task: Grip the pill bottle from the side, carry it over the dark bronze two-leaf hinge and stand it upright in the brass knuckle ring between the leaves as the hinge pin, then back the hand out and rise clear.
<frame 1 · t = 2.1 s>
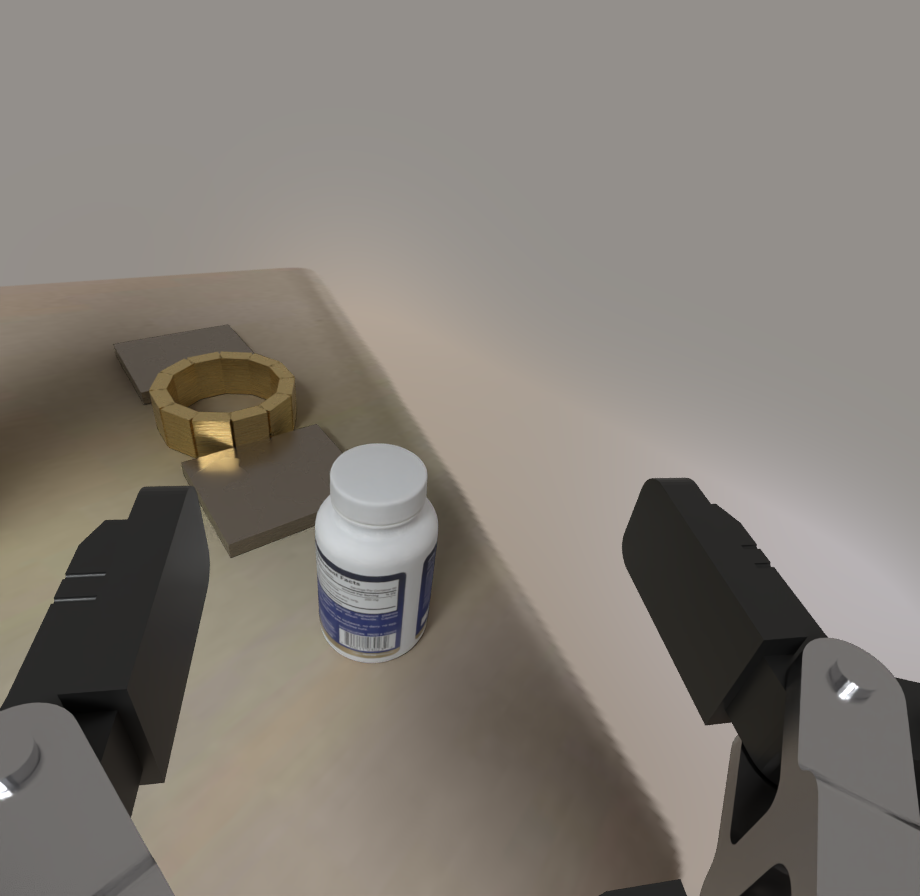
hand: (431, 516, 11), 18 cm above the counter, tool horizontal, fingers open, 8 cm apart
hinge: (230, 419, 42), on the counter
pill bottle: (373, 621, 30), on the counter
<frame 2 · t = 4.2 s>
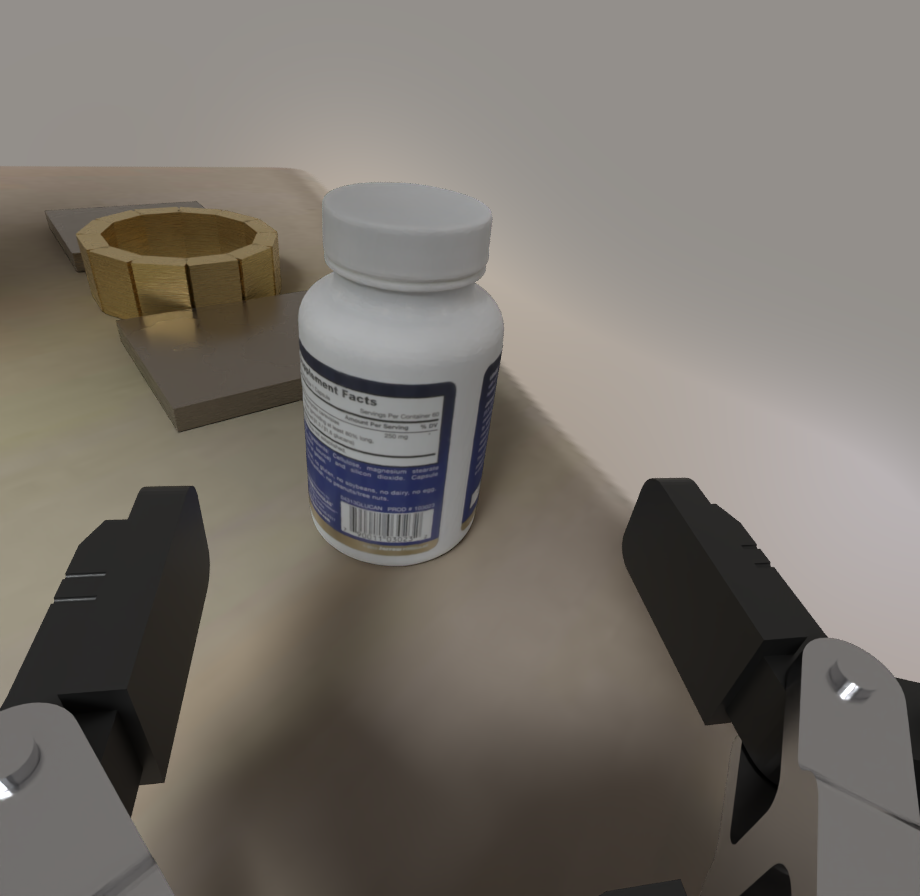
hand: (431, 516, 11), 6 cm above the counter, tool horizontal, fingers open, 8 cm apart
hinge: (191, 290, 31), on the counter
pill bottle: (392, 514, 20), on the counter
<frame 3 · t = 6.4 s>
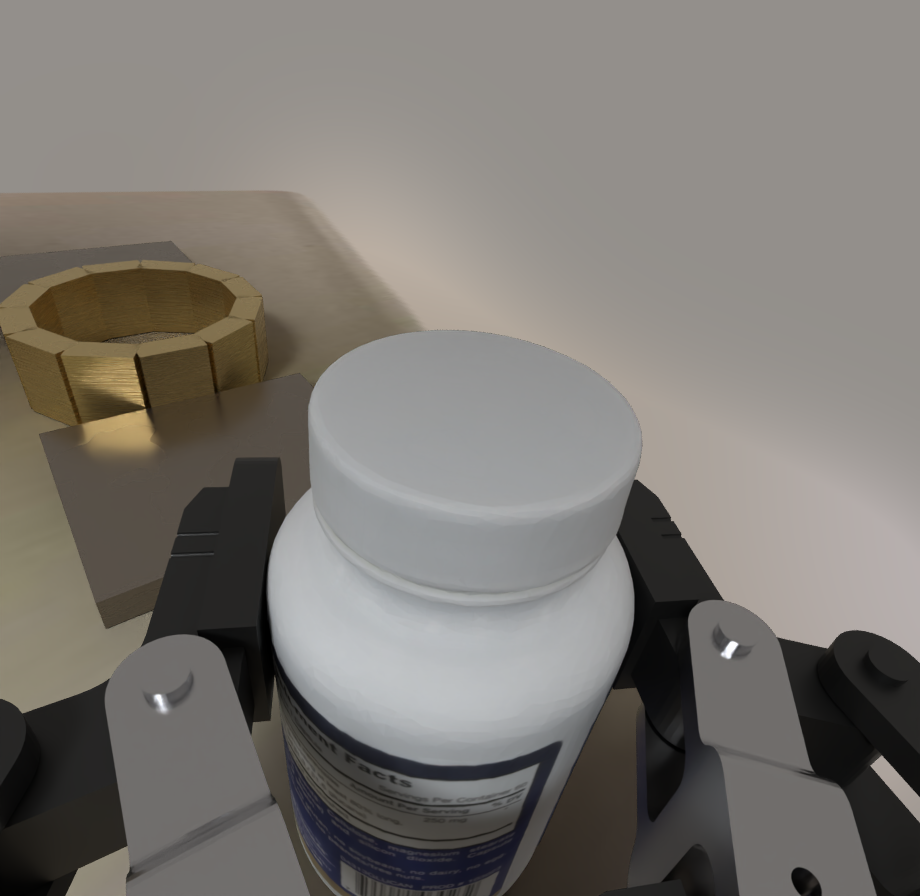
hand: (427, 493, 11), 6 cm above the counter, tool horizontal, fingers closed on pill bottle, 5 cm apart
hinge: (153, 369, 25), on the counter
pill bottle: (419, 784, 13), on the counter, touching gripper
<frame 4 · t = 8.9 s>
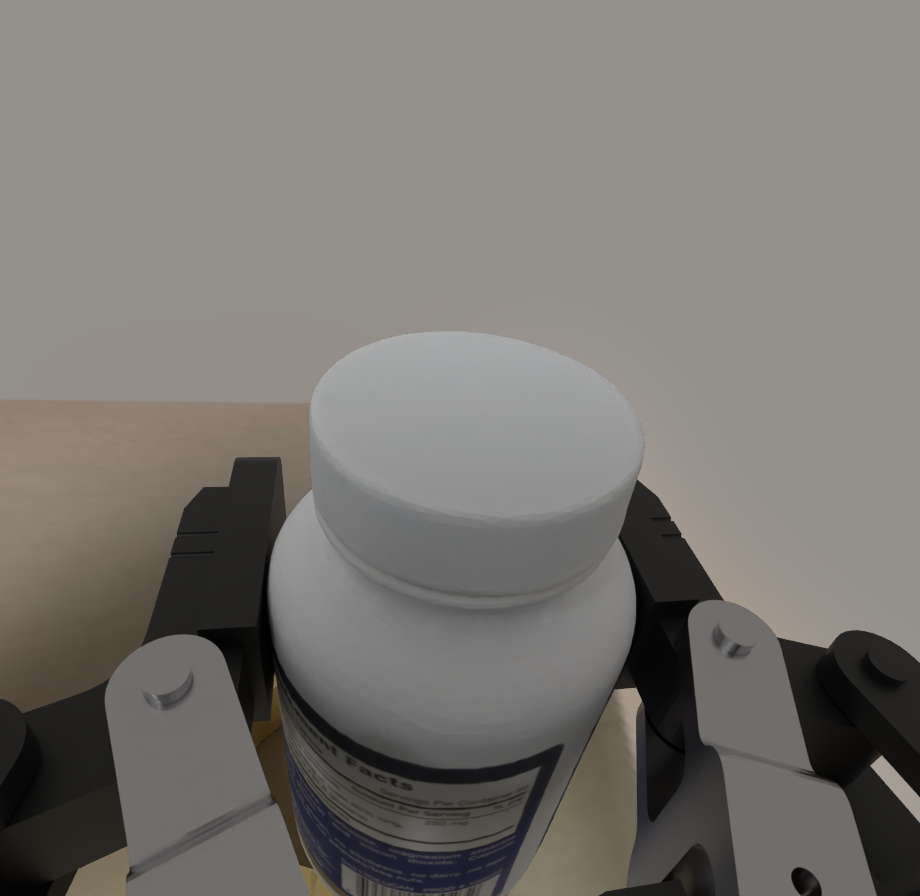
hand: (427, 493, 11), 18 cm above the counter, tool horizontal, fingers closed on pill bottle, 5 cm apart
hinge: (331, 789, 23), on the counter
pill bottle: (420, 786, 13), point 11 cm above the counter, touching gripper
when the fingers open (8 cm above the counter, at t = 11.7 s): pill bottle drops 2 cm, resting in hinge.
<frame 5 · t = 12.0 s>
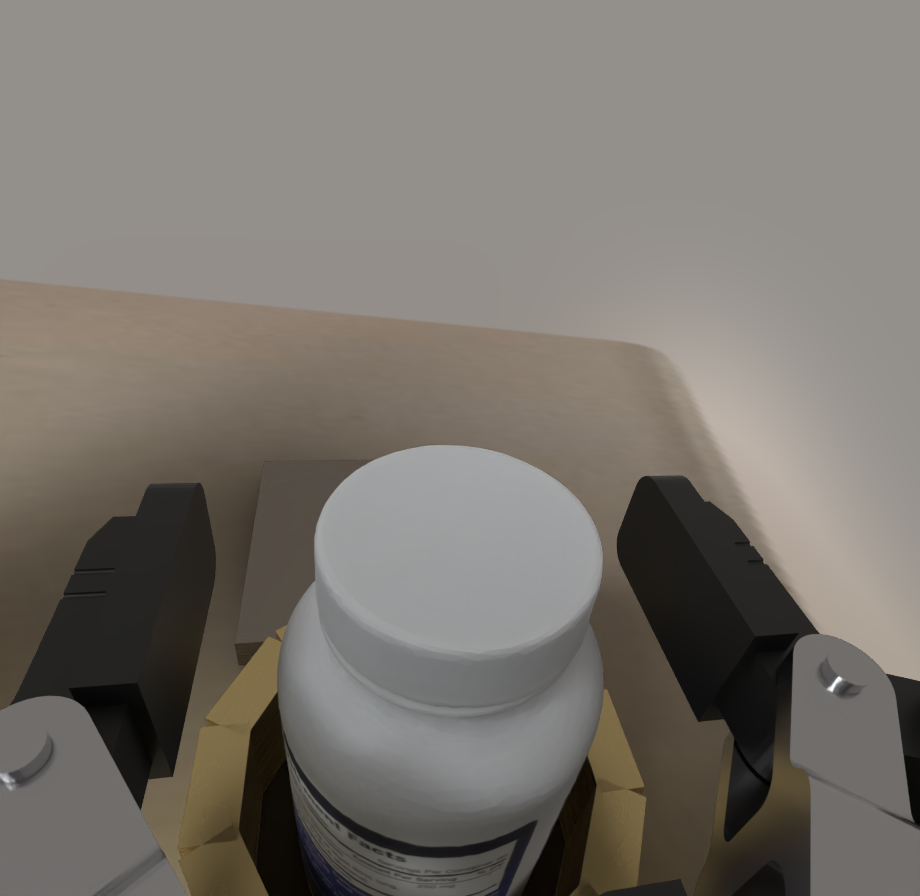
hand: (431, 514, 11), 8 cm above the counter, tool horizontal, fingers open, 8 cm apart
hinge: (413, 818, 14), on the counter
pill bottle: (417, 828, 14), resting in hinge
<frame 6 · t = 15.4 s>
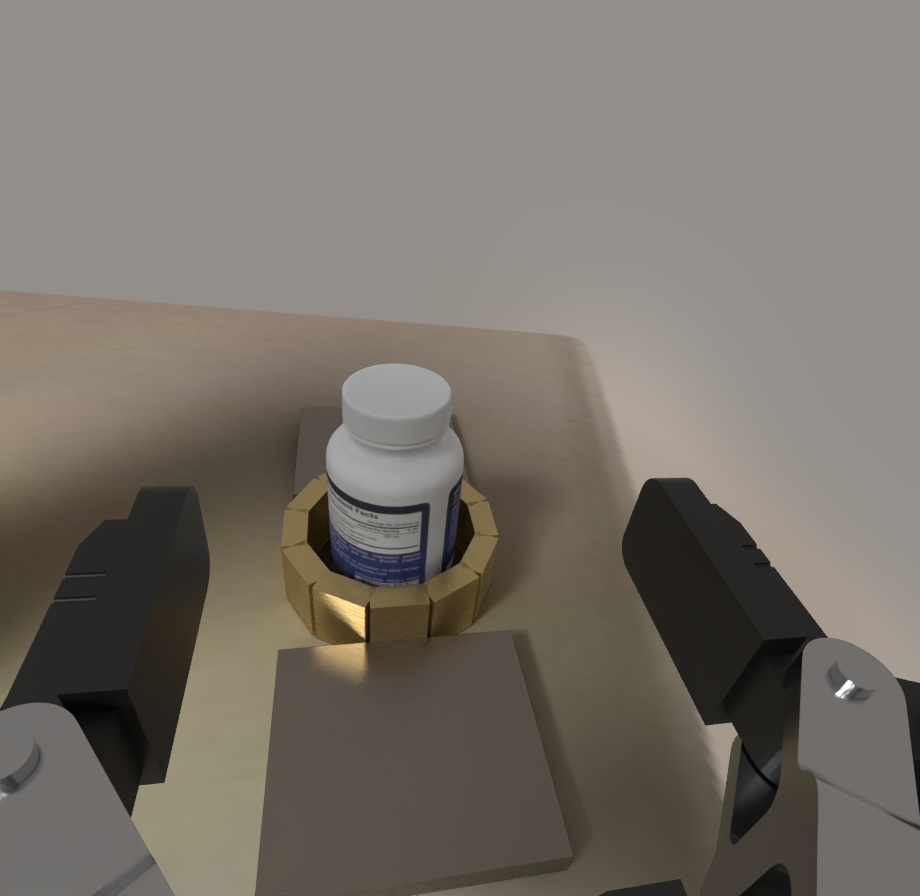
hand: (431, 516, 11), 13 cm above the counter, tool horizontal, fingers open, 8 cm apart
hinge: (390, 570, 27), on the counter
pill bottle: (392, 576, 27), resting in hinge
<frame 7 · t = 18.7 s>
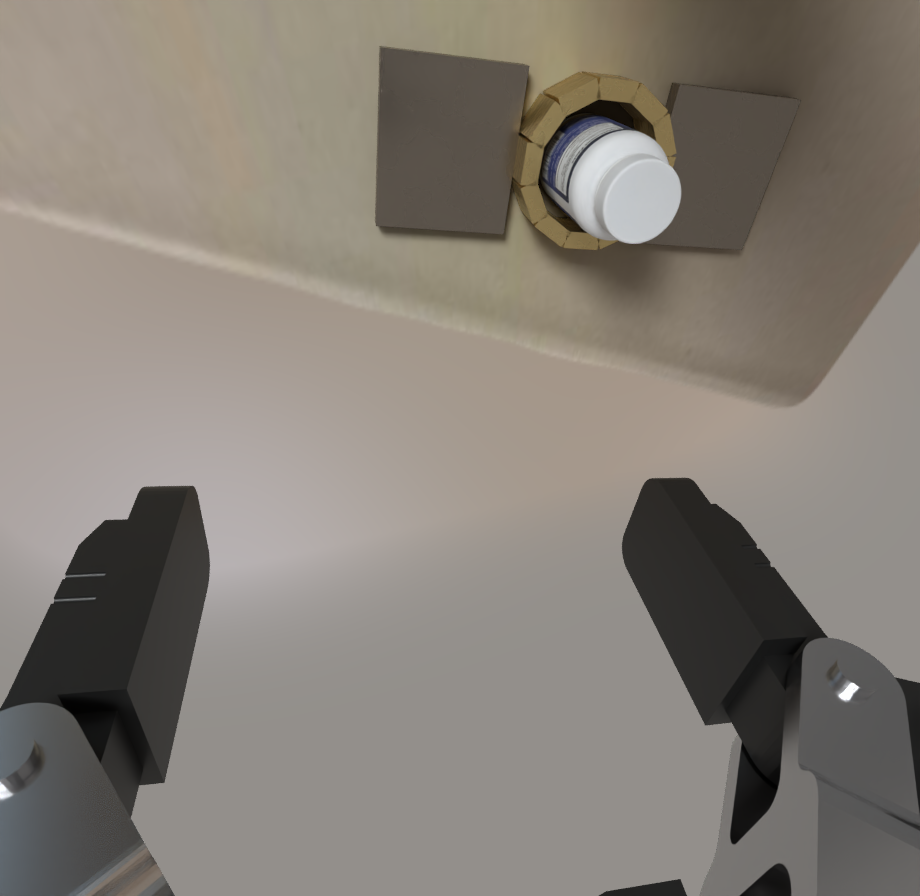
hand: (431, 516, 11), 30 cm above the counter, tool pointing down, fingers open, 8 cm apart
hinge: (581, 159, 36), on the counter
pill bottle: (578, 160, 36), resting in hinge
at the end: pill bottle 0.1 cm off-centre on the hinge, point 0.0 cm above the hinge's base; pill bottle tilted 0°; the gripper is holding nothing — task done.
